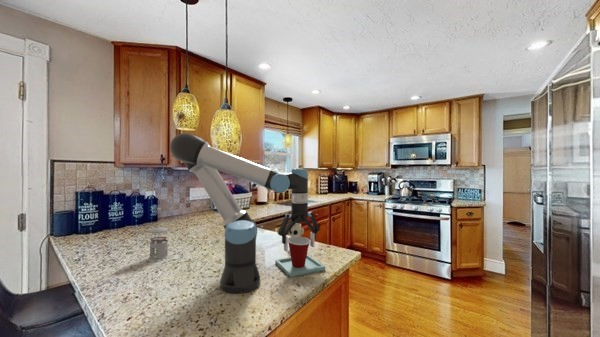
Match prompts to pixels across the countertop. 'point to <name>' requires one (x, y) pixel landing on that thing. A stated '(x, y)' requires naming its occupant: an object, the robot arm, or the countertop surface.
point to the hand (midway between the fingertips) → (299, 248)
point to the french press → (158, 244)
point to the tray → (309, 268)
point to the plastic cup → (298, 250)
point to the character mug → (296, 230)
